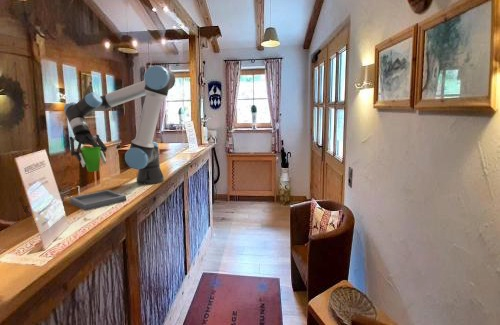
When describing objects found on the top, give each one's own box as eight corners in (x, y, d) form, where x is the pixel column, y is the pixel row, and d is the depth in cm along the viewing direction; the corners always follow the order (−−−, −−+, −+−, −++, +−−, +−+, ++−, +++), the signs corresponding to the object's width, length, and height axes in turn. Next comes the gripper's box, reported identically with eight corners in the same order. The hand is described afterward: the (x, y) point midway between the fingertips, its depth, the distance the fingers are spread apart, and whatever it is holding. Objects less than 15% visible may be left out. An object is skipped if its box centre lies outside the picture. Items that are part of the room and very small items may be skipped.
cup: (94, 173, 153) (92, 150, 151) (78, 172, 156) (76, 149, 153) (107, 169, 162) (105, 147, 160) (91, 168, 164) (89, 146, 162)
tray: (109, 194, 160) (108, 189, 160) (126, 200, 148) (125, 195, 148) (70, 203, 147) (69, 197, 147) (85, 210, 135) (84, 205, 135)
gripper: (100, 131, 174) (115, 165, 166) (55, 135, 159) (69, 172, 151) (103, 122, 169) (118, 156, 161) (57, 125, 154) (71, 162, 146)
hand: (94, 163), depth 156 cm, fingers closed on cup, 9 cm apart
